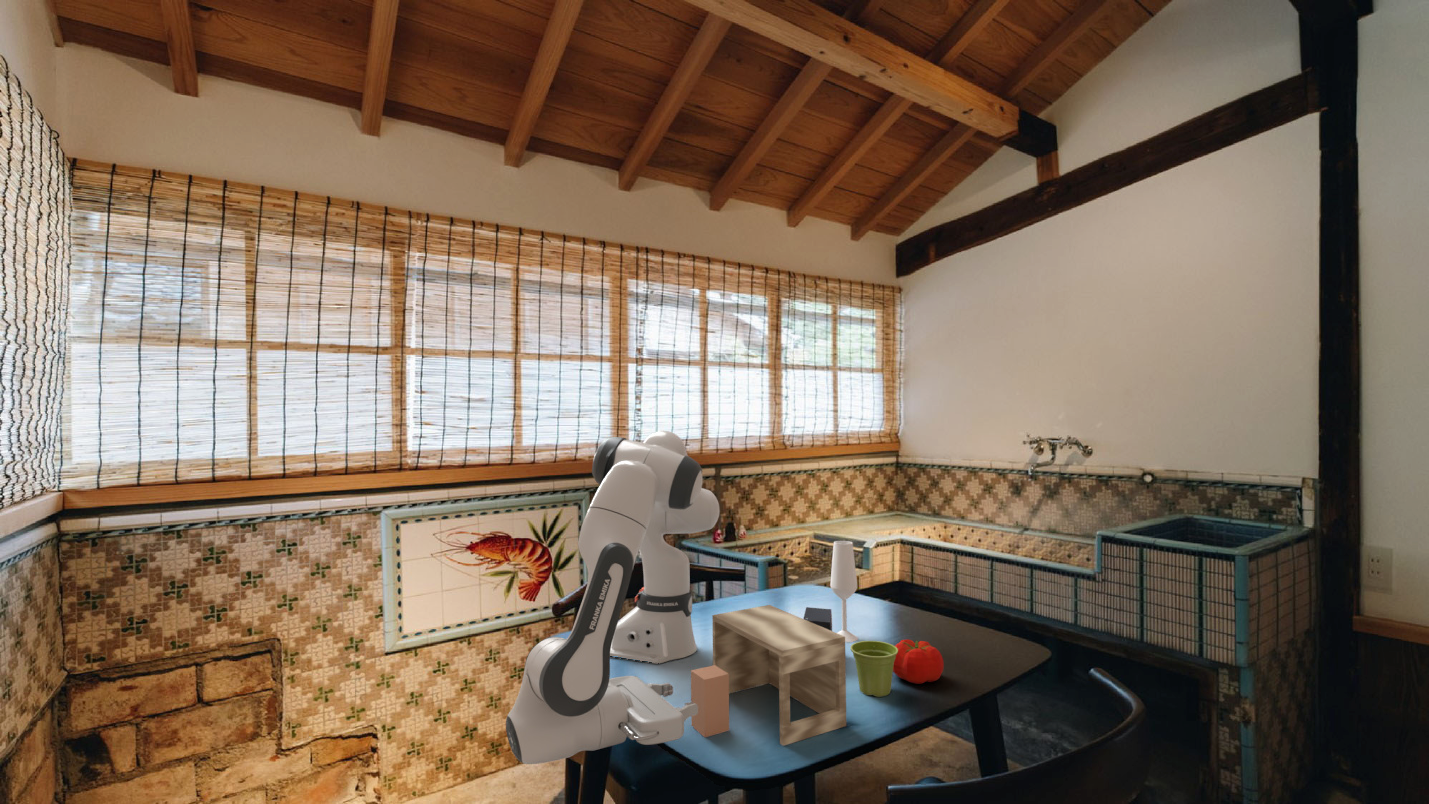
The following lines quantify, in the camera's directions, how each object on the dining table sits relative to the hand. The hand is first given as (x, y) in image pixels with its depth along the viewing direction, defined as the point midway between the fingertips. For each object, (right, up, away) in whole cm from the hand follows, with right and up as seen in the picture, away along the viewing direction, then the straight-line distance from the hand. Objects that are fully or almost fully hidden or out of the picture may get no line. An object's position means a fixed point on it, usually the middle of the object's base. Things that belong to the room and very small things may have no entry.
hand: (683, 697), depth 116 cm
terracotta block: (+5, -7, +3) cm, 9 cm away
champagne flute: (+38, -8, +51) cm, 64 cm away
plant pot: (+38, -7, +18) cm, 43 cm away
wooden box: (+17, -7, +10) cm, 21 cm away
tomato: (+49, -7, +24) cm, 55 cm away
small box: (+29, -8, +36) cm, 47 cm away
